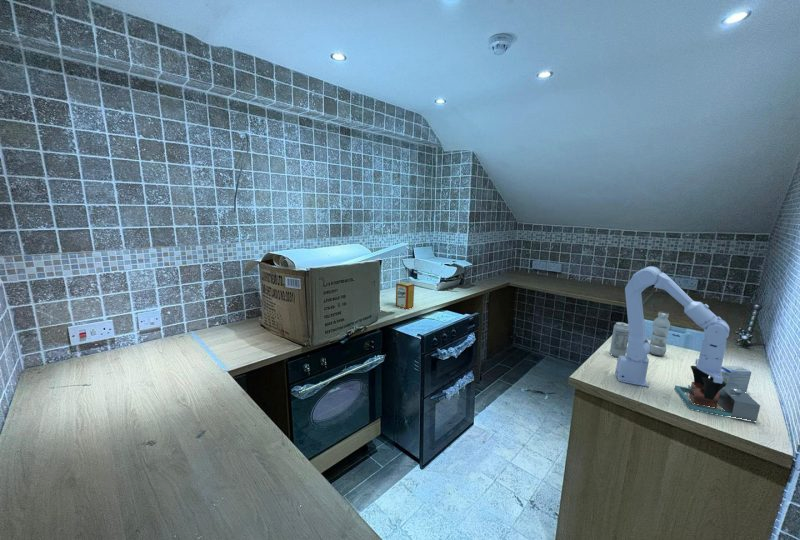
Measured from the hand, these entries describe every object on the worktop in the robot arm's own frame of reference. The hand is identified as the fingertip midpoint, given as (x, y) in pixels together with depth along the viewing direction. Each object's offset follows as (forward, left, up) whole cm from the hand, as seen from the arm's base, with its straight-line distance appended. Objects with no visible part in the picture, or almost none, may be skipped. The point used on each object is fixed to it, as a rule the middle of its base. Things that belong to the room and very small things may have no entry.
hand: (703, 392), depth 113 cm
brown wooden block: (0, 0, -4) cm, 4 cm away
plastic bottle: (-2, +42, -4) cm, 42 cm away
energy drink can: (-19, +32, -4) cm, 38 cm away
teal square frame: (+3, 0, -4) cm, 5 cm away
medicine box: (+14, +16, -4) cm, 22 cm away
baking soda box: (-133, +55, -4) cm, 144 cm away
